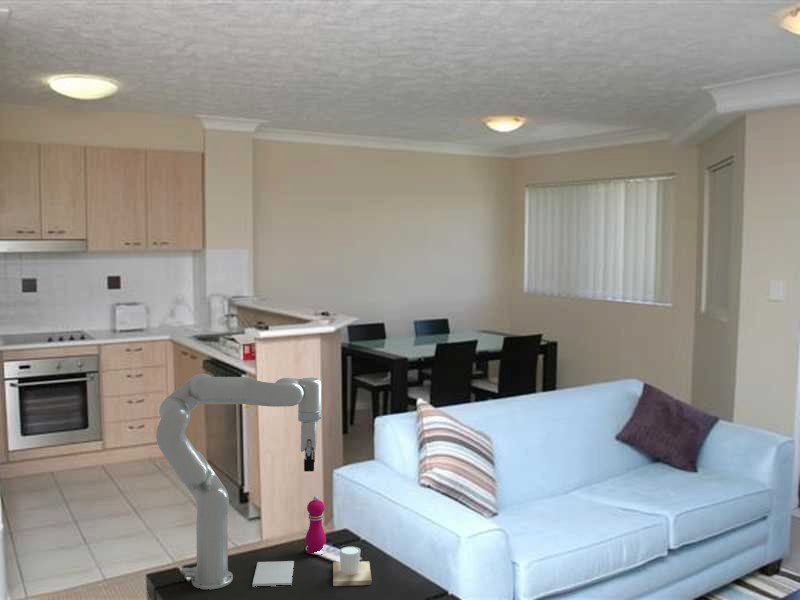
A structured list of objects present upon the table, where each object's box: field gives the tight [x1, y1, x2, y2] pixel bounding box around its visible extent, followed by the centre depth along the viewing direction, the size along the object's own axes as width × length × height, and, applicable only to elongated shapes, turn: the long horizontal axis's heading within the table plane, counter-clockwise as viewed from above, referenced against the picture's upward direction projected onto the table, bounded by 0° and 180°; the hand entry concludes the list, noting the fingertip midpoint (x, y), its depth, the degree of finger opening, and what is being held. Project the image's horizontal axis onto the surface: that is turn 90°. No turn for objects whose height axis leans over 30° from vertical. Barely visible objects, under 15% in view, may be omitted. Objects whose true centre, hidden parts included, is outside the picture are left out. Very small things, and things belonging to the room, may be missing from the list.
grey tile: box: [251, 560, 295, 588], centre depth 233 cm, size 12×16×1 cm
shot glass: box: [339, 546, 362, 575], centre depth 233 cm, size 7×7×7 cm
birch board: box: [332, 560, 373, 587], centre depth 234 cm, size 12×14×2 cm
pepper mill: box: [304, 495, 327, 553], centre depth 251 cm, size 7×7×20 cm
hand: (309, 466), depth 239 cm, fingers open, 9 cm apart
